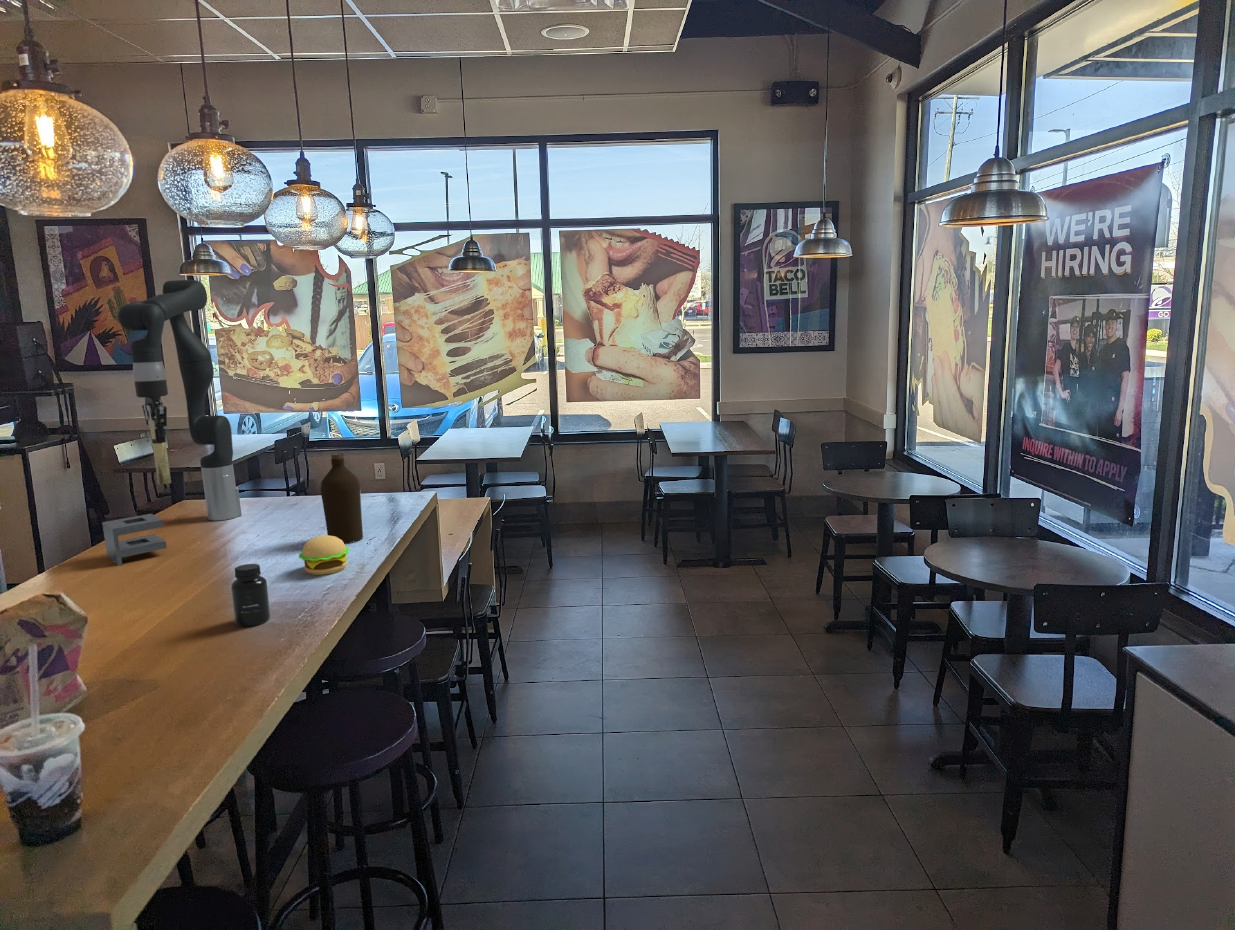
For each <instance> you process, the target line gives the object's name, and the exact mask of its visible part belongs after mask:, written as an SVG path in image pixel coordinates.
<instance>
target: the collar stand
mask: <svg viewBox="0 0 1235 930" xmlns="http://www.w3.org/2000/svg"><path fill="white" fill-rule="evenodd" d="M101 524H102V531H103V536H104V541H105V549H106V554H107V558H108V559H109V558H110V559H111V561H112V562H113V561H114V562H115V563H116V564H115V563H114V562H113V563H114V564H115V565H116V566H118V565H119V566H122V565H123V560H122V558H126V557H130V556H136V555H141V554H145V553H149V552H155V551H158V550H159V551H161V550H165V549H167V548H168V547H167V541H166V540H165V539H163V538H162V537H160V536H158V535H157V534H155V533H153V534H146V535H142V536H138V537H137V536H136V537H132V538H128V539H127V538H126V539H122V540H119V536H123V535H129V534H135V533H139V532H143V531H149V530H155V529H160V528H164V527H165V526H164V521H163V519H162V518H160V517H159V516H156V515H154V514H153V513H148V514H141V515H136V516H130V517H124V518H119V519H113V520H108V521H102V522H101ZM110 559H109V560H110Z"/></svg>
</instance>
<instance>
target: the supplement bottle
mask: <svg viewBox="0 0 1235 930" xmlns="http://www.w3.org/2000/svg"><path fill="white" fill-rule="evenodd" d="M261 574H262V573H261V565H259V564H257V563H245V564H242V565H238V566H236V567H235V568H234V578H236V579H234V581H232V583H231V586H230V587H231V588H230V589H231V597H232V605H233V606H232V608H233V613H234V622H235V624H236V625H237V626H239V627H249V628H250V627H256V626H259V625H262V624H265V623H267V622H268V621H269V620H270V618H271V610H270V601H269V592H268V583H267V579H265V577H263V576H261Z"/></svg>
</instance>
